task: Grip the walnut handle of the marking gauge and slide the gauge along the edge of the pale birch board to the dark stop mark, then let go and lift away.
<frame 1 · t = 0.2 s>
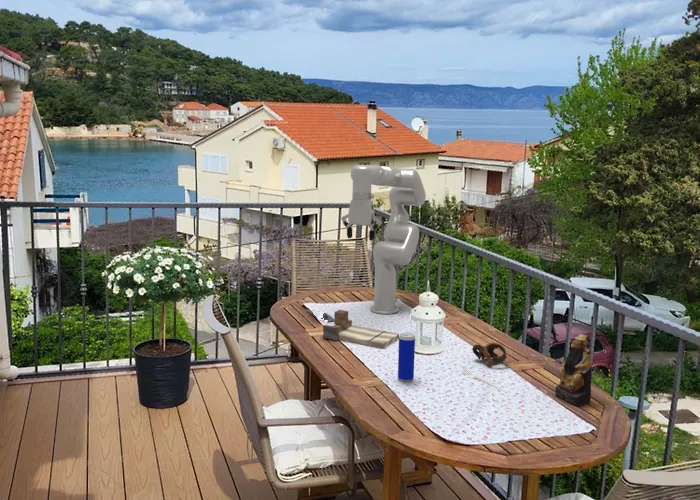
hand: (360, 239, 258), 36 cm above the table, tool pointing down, fingers open, 9 cm apart
gauge: (339, 323, 249), point 5 cm above the table, slide at 0.0 cm
brown looped ornament: (488, 363, 222), on the table
statue: (574, 400, 192), on the table
fork: (484, 383, 205), on the table
beverage can: (405, 379, 206), on the table
driftwood: (321, 317, 276), on the table
board: (361, 337, 247), on the table
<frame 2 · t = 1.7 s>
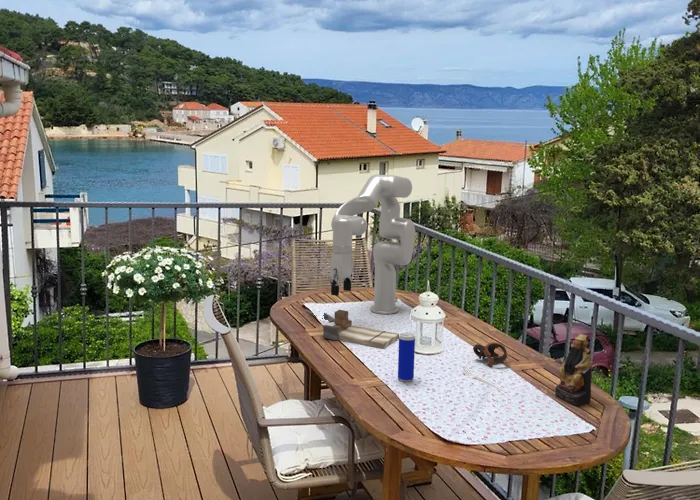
hand: (341, 292, 248), 17 cm above the table, tool pointing down, fingers open, 9 cm apart
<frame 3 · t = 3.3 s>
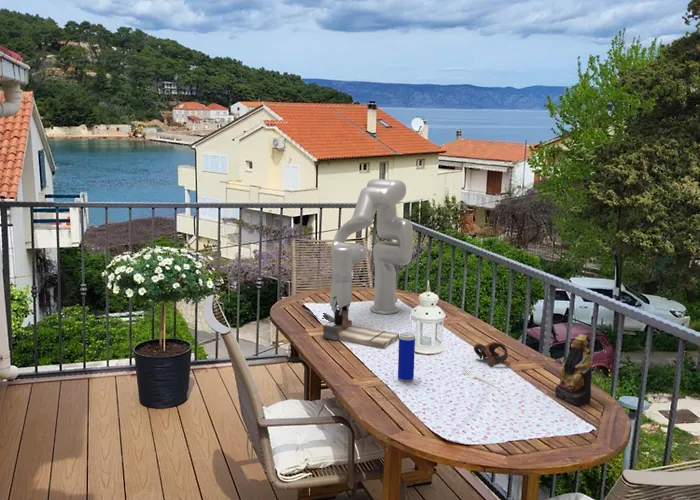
hand: (341, 322, 250), 5 cm above the table, tool pointing down, fingers closed on gauge, 4 cm apart
gauge: (339, 323, 249), point 5 cm above the table, slide at 0.0 cm, touching gripper
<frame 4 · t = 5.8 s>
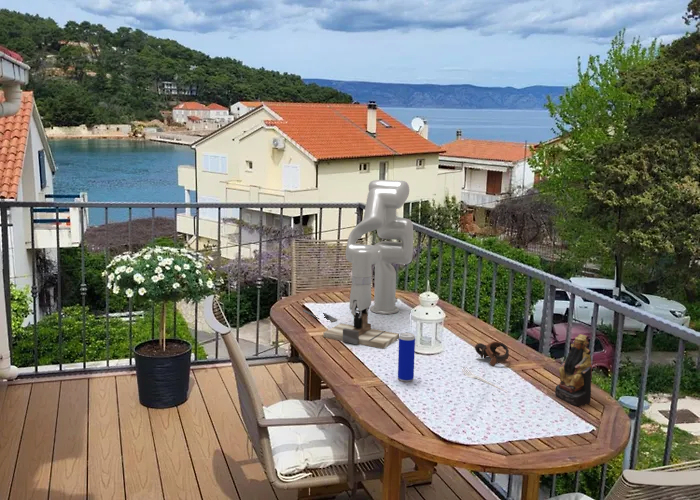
hand: (360, 325, 246), 5 cm above the table, tool pointing down, fingers closed on gauge, 4 cm apart
gauge: (358, 326, 245), point 5 cm above the table, slide at 8.7 cm, touching gripper
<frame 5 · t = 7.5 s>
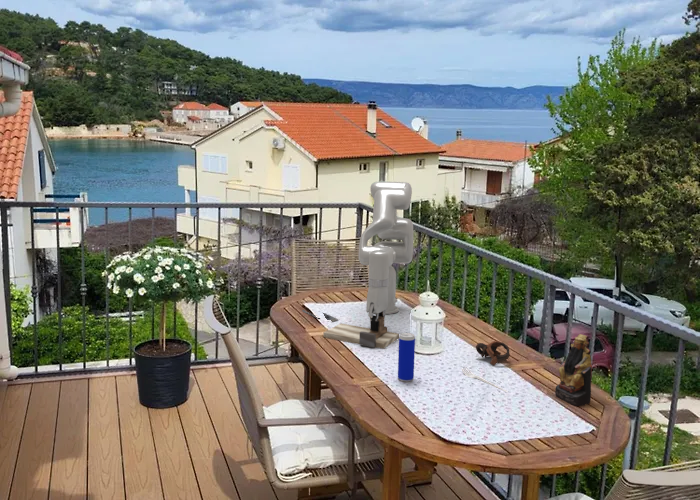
hand: (377, 328, 243), 5 cm above the table, tool pointing down, fingers closed on gauge, 4 cm apart
gauge: (375, 329, 242), point 5 cm above the table, slide at 15.9 cm, touching gripper
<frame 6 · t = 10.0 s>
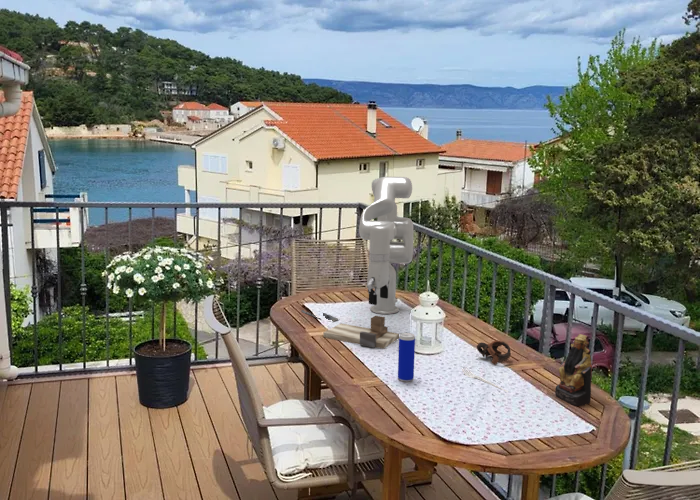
hand: (378, 301, 242), 16 cm above the table, tool pointing down, fingers open, 9 cm apart
gauge: (375, 329, 242), point 5 cm above the table, slide at 16.0 cm
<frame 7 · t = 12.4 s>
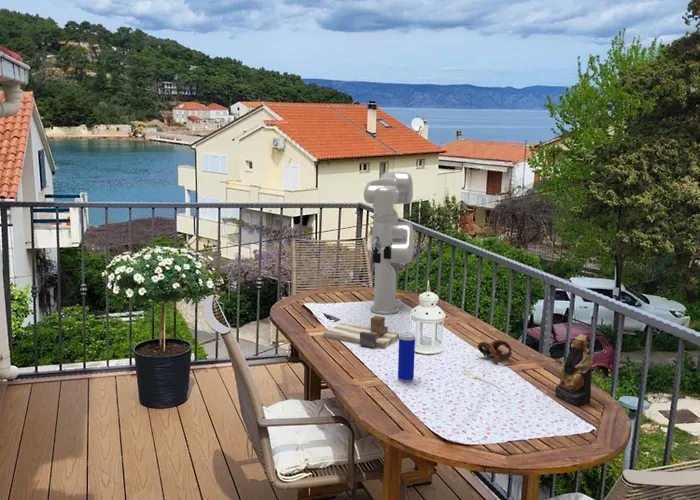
hand: (382, 260, 254), 28 cm above the table, tool pointing down, fingers open, 9 cm apart
at the end: gauge slide at 16.0 cm; the gripper is holding nothing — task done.
